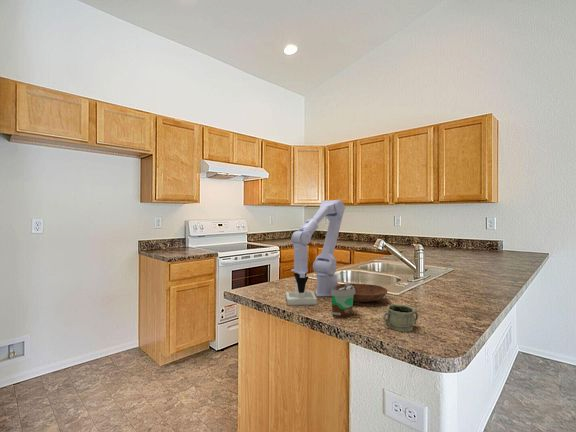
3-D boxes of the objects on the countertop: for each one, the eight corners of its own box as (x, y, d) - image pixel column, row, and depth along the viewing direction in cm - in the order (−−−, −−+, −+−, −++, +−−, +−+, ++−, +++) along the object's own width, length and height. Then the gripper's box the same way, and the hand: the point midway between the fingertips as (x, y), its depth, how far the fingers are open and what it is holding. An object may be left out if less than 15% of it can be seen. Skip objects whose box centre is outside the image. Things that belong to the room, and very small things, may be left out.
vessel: (411, 321, 105) (411, 303, 105) (425, 331, 96) (425, 311, 96) (377, 323, 103) (377, 304, 103) (389, 333, 95) (389, 313, 95)
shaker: (305, 295, 131) (305, 278, 131) (305, 297, 127) (305, 281, 127) (295, 295, 131) (295, 278, 131) (295, 297, 127) (295, 281, 127)
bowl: (390, 308, 119) (390, 296, 119) (333, 305, 123) (333, 293, 123) (384, 295, 138) (384, 284, 138) (336, 292, 142) (336, 282, 142)
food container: (346, 321, 105) (346, 292, 105) (330, 317, 109) (330, 289, 109) (360, 311, 115) (360, 285, 115) (346, 308, 119) (346, 283, 119)
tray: (312, 296, 135) (312, 291, 135) (316, 305, 123) (316, 298, 123) (285, 297, 135) (285, 291, 135) (287, 305, 123) (287, 299, 123)
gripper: (290, 256, 136) (290, 287, 136) (292, 262, 121) (292, 295, 122) (305, 256, 136) (305, 286, 136) (310, 262, 122) (310, 295, 122)
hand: (300, 291), depth 129 cm, fingers closed on shaker, 4 cm apart
